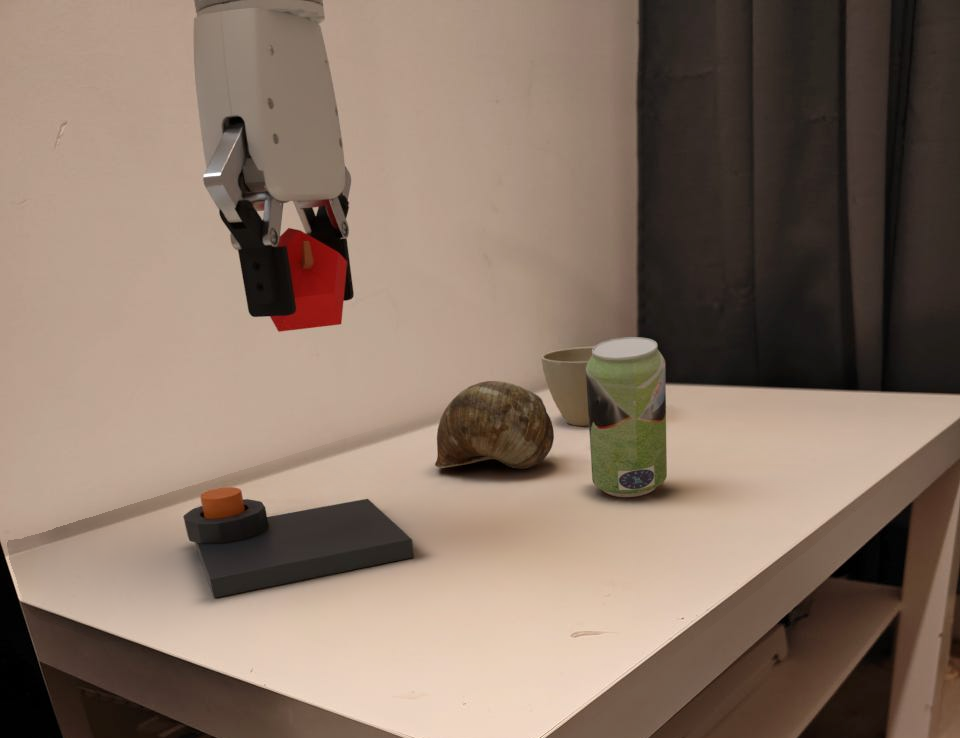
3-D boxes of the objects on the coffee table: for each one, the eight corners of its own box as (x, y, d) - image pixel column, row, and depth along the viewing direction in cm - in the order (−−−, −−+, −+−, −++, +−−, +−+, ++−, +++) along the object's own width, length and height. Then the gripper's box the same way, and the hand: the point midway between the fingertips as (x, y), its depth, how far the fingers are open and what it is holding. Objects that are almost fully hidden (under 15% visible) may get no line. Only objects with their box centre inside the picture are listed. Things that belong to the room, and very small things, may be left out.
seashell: (574, 461, 86) (571, 373, 83) (516, 488, 80) (509, 393, 77) (479, 451, 93) (472, 369, 90) (417, 475, 87) (407, 387, 83)
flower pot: (554, 435, 97) (551, 364, 94) (537, 416, 106) (533, 351, 103) (648, 425, 97) (648, 354, 94) (623, 407, 106) (622, 342, 103)
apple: (239, 244, 65) (249, 194, 57) (337, 255, 67) (359, 208, 59) (241, 344, 65) (251, 308, 57) (338, 352, 67) (360, 318, 59)
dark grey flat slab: (207, 599, 62) (197, 557, 61) (188, 545, 73) (180, 508, 72) (414, 557, 66) (409, 517, 65) (367, 511, 77) (362, 476, 76)
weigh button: (207, 524, 68) (202, 501, 68) (202, 514, 71) (197, 491, 70) (248, 516, 69) (243, 494, 69) (242, 507, 72) (238, 484, 71)
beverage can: (663, 478, 79) (664, 330, 74) (671, 503, 73) (672, 344, 68) (589, 481, 80) (584, 336, 75) (589, 507, 73) (585, 349, 68)
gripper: (278, 23, 64) (317, 296, 72) (109, -22, 49) (180, 328, 57) (377, 6, 62) (406, 291, 69) (230, -46, 47) (287, 323, 54)
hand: (304, 305), depth 63 cm, fingers closed on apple, 7 cm apart
